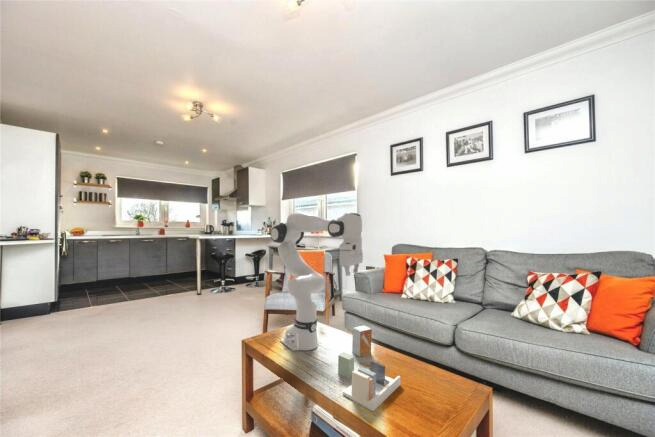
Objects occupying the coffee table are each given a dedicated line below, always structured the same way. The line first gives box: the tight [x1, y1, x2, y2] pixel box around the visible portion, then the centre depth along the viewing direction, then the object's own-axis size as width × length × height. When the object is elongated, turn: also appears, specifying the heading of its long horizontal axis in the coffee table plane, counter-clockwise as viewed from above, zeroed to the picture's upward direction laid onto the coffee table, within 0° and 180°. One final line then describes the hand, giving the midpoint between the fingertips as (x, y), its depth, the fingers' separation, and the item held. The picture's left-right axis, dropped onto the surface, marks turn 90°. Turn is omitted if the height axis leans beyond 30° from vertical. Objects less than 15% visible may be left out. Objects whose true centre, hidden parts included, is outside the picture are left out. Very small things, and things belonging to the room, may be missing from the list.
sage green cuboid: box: [337, 352, 355, 379], centre depth 120 cm, size 6×4×8 cm, turn 49°
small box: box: [351, 325, 373, 358], centre depth 141 cm, size 8×6×13 cm
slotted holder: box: [342, 360, 401, 412], centre depth 109 cm, size 14×22×10 cm, turn 139°
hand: (351, 274), depth 128 cm, fingers open, 8 cm apart
